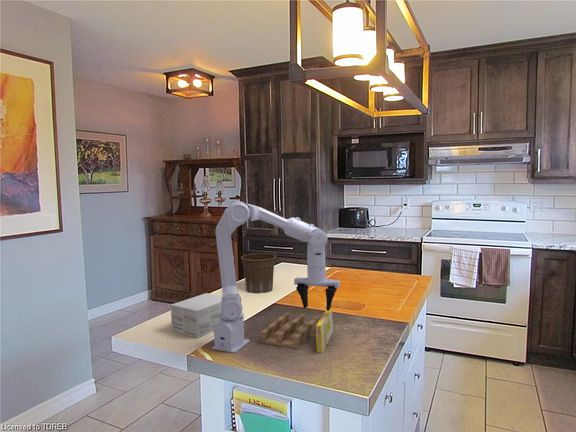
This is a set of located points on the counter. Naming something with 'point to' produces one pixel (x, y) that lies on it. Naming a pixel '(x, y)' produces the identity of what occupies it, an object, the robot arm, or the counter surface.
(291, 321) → the rack
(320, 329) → the candy box
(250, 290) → the plant pot
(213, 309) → the supplement box
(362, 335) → the counter surface
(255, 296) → the counter surface
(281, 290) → the counter surface
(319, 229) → the robot arm
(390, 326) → the counter surface
